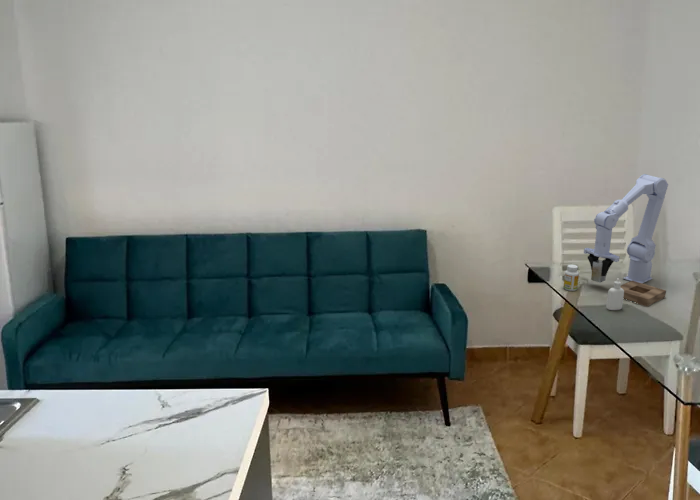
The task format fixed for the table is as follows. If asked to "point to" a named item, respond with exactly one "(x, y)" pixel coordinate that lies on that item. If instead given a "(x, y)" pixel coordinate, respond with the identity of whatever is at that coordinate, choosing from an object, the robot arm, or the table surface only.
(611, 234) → the robot arm
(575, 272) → the supplement bottle
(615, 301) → the eye dropper bottle
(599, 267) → the peg
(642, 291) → the socket block
